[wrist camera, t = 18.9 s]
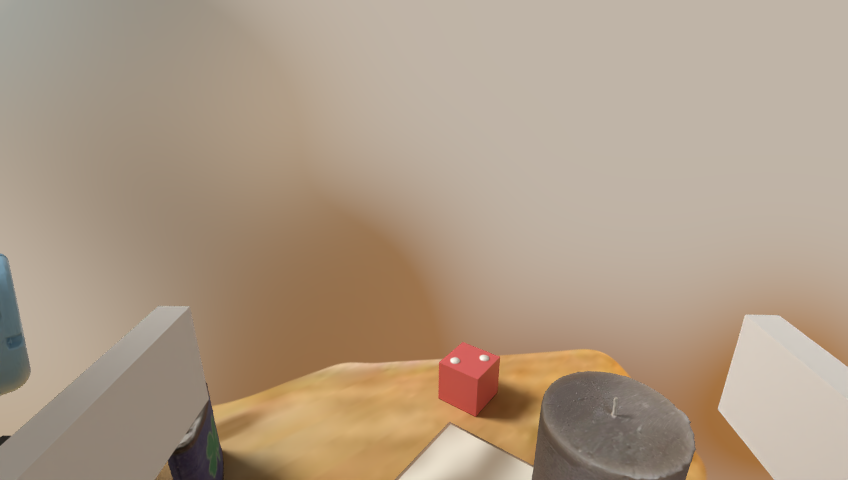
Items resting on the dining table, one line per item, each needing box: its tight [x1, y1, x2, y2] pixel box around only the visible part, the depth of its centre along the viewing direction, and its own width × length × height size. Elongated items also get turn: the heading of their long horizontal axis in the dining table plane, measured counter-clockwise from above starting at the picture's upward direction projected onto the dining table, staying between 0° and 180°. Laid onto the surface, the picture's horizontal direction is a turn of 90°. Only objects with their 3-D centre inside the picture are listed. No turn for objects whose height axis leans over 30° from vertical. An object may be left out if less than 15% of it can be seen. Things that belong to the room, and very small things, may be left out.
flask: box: [168, 381, 224, 480], centre depth 41 cm, size 9×3×11 cm, turn 17°
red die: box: [439, 342, 500, 417], centre depth 53 cm, size 5×5×5 cm
